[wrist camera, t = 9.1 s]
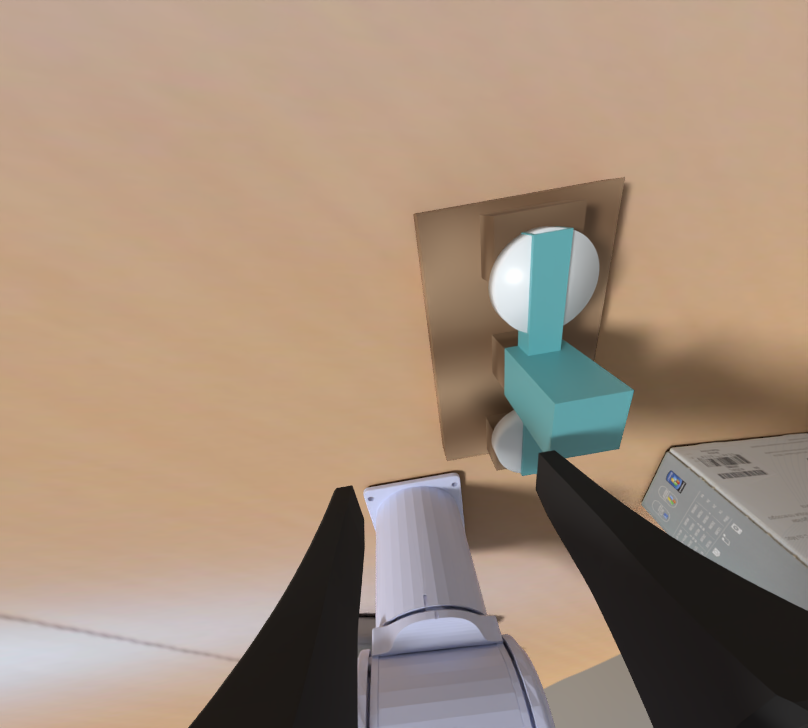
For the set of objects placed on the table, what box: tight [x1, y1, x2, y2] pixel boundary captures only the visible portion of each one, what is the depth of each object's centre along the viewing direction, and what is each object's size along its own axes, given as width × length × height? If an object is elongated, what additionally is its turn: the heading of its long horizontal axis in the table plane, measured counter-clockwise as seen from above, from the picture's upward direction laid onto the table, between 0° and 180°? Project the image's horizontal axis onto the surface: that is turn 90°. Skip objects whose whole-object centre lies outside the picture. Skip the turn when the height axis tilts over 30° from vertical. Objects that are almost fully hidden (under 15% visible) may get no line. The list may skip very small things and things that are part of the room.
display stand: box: [414, 177, 625, 470], centre depth 18 cm, size 16×10×4 cm, turn 9°
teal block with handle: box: [488, 226, 634, 476], centre depth 14 cm, size 14×5×5 cm, turn 9°
